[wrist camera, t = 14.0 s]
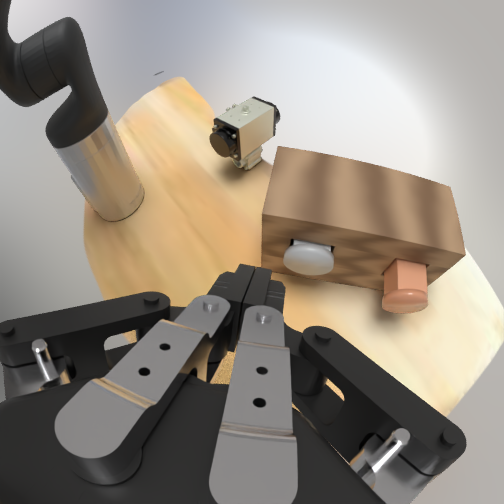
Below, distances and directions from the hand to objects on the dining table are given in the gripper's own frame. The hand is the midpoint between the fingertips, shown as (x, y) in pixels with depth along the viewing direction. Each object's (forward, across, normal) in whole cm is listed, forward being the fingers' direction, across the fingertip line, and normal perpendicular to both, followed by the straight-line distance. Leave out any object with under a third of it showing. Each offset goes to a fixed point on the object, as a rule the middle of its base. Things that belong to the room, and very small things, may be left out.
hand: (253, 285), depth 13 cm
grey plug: (+23, -4, +3) cm, 24 cm away
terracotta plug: (+21, -16, +5) cm, 27 cm away
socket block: (+27, -10, +5) cm, 29 cm away
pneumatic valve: (+38, +8, -5) cm, 39 cm away
